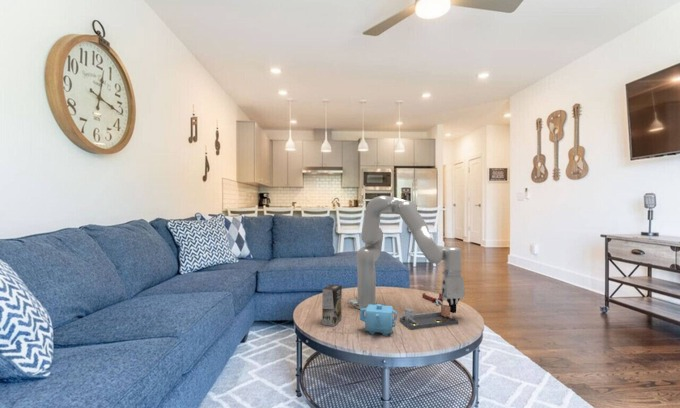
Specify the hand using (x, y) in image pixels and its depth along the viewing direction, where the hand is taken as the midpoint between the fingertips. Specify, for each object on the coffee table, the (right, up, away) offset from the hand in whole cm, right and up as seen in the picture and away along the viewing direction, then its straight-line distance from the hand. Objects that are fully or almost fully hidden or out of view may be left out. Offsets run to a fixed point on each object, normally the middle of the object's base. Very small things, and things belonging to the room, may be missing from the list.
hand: (452, 312), depth 147 cm
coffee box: (-57, -3, -5) cm, 57 cm away
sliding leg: (-3, -1, -3) cm, 4 cm away
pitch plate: (-13, -3, -5) cm, 14 cm away
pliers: (-1, -4, +27) cm, 28 cm away
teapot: (-37, -3, -16) cm, 40 cm away
